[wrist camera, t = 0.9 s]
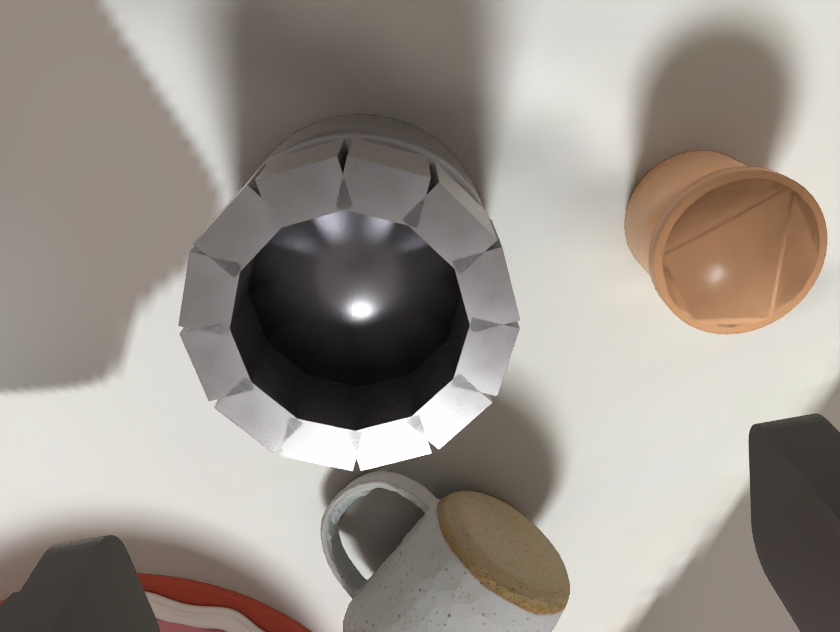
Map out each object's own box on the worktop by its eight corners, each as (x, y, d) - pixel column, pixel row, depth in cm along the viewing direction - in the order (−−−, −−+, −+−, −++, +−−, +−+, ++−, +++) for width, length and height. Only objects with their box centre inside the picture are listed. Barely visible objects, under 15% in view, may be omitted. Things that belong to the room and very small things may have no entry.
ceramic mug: (566, 522, 37) (602, 644, 30) (473, 634, 40) (485, 770, 33) (378, 421, 35) (368, 527, 28) (292, 546, 38) (264, 672, 31)
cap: (705, 111, 30) (760, 133, 25) (794, 216, 32) (860, 254, 27) (588, 219, 32) (620, 257, 27) (678, 313, 33) (723, 365, 29)
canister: (356, 57, 29) (338, 83, 21) (535, 236, 32) (583, 323, 23) (189, 241, 32) (114, 330, 23) (369, 392, 34) (359, 519, 26)
